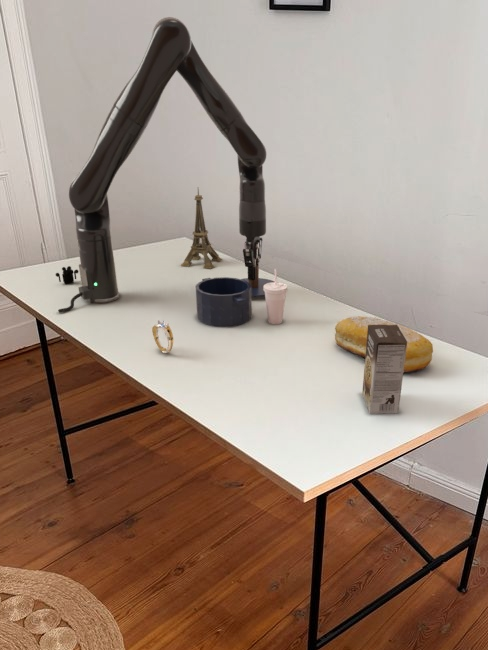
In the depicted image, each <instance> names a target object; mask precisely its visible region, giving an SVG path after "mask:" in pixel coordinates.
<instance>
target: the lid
mask: <svg viewBox="0 0 488 650" xmlns="http://www.w3.org/2000/svg"><path fill="white" fill-rule="evenodd" d="M241 279H242V280H245V281H247V282H249V283H250V285H251V292H252V298H265V291H264V290H263V286H264V285H265V284H267V283H272V282H275V280H272V279H268V278H263V277H260V276H259V268H258V265H256V279H255V280H248V277H245V278H241Z"/></svg>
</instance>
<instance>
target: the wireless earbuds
mask: <svg viewBox="0 0 488 650" xmlns="http://www.w3.org/2000/svg"><path fill="white" fill-rule="evenodd" d="M61 271H62V274H60V273H59V272H56V273H55V277H57V278H58V282H59V283H61V282H63V283H64V284H66V285H67V284H73V283H74V280H77V274H79V273H80V270H79V269H74V270H73V269H72V266H70V265H68V266H67V267H66V266H63V267H61ZM61 276H62V280H61Z"/></svg>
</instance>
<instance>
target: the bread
mask: <svg viewBox="0 0 488 650" xmlns="http://www.w3.org/2000/svg"><path fill="white" fill-rule="evenodd" d="M368 325H397V326H398V327H399V329H400V331H401V332H402V334H403V336H404V337H405V339H406V341H407V349H406V357H405V365H404V372H403V373H407V372H409V373H410V372H417V371H418V372H419V371H420V370H424V369H425V368H426V367H427V366H428V365H430V363H431V362H432V360H433V353H434V346H433V345H434V344H433V343H432V341H430V340H429V339H428V338H427V337H425V336H424V335H422V334H420V333H418V332H417V331H414V330H412V329H411V328H408V327H406V326H404V325H401V324H399V323H395V322H393V321H389V320H384V319H381V318H378V317H377V316H374V317H373V316H369V317H368V316H359V315H356V316H350V317H349V316H348V317H346V318H343V319H341V320H339V321H338V322H337V323H336V325H335V327H334V331H335V332H334V340H335V343H336V344H337V346H338V347H340V348H341V349H343V350H345V351H346V352H350V353H352V354H355V355H357V356H359V357H361V358H363V359H365V356H366V344H367V332H368Z"/></svg>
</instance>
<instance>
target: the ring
mask: <svg viewBox="0 0 488 650" xmlns="http://www.w3.org/2000/svg"><path fill="white" fill-rule="evenodd" d="M169 325H170V324H169V323H168V321H165V320H164V319H162V321H160V319H159V320H157V323H156V324H154V325H153V326H152V327H151V329H152V331H151V332H152V336H153V339H154V341H155V345H156V347H158V349H159V350H160V351H161V353H162V354H167V353H170V352H172V350H173V347H174V336H173V331H172V329H171V327H170V326H169ZM159 329H160V330H162V332H163V333H164V334H165V336H166V339H167V348H166V347H164V346H163V345H162V343H161V341H160V338H159Z"/></svg>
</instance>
